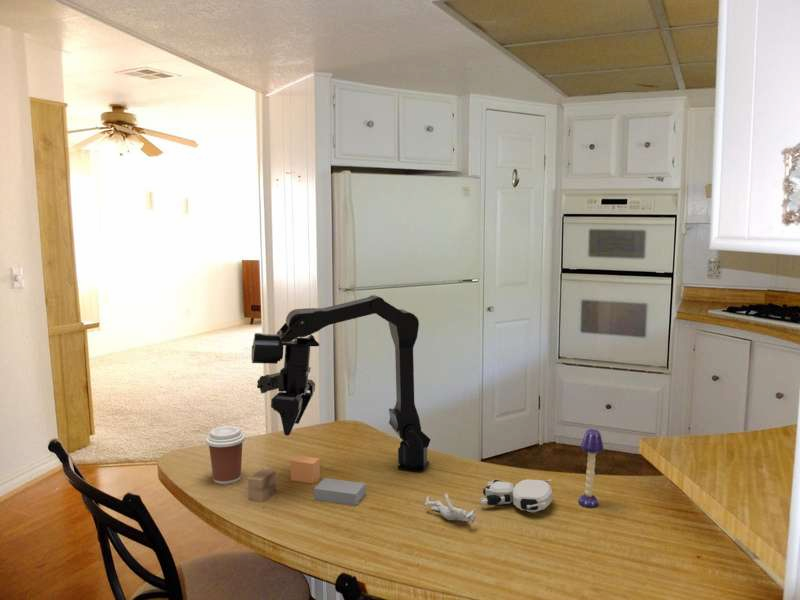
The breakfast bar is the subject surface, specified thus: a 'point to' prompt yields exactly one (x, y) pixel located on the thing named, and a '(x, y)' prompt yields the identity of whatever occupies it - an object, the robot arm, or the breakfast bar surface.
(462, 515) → the white plastic figure
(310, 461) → the orange brick
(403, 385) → the robot arm
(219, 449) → the coffee cup
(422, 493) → the breakfast bar surface
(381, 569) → the breakfast bar surface
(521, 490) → the robot toy
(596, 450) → the toy lamp
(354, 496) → the grey brick
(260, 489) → the walnut brick
